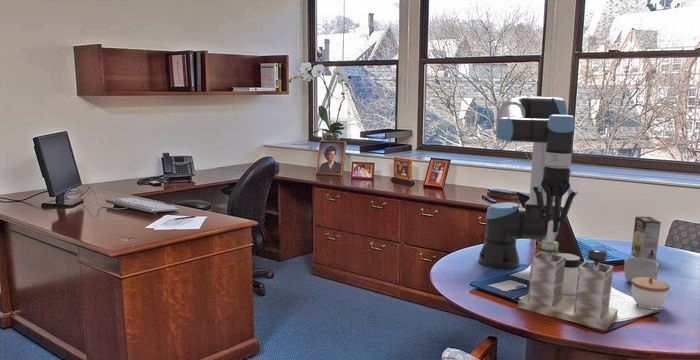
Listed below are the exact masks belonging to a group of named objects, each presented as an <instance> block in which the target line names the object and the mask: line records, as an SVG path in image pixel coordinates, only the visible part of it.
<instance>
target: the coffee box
mask: <svg viewBox="0 0 700 360" xmlns="http://www.w3.org/2000/svg"><path fill="white" fill-rule="evenodd" d="M634 220H635V221H634V228H633V237H632V244H631V254H632V255H633V257H635V258H646V259H650V260H653V261H657V252H658V244H659V238H660V230H661V225H662V224H661V223H662V222H661V221H659V220H657V219H655V218H653V217H652V216H635V219H634Z"/></svg>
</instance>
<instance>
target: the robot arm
mask: <svg viewBox="0 0 700 360" xmlns="http://www.w3.org/2000/svg"><path fill="white" fill-rule="evenodd" d="M575 120H576V119H575V117H574V115H569V114H568V108H567V104H566V100H565V99H563V97H556V96H555V97H554V96H526V95H524V96H516V97H512V98H511V99H508V100H506V101H505V102H503V103H502V104H501V105H500V108H499V109H498V119H497V121H496V135H495V136H496V140H498V141H503V142H522V143H523V142H524V143H525V142H528V143H532V159H531V171H530V184H529V185H530V186H529V199H528V200H527V201H526V202H525V203H524V207H520V205H519V204H518V203H517V202H510V201H509V202H504V201H503V202H497V203H493V204H490V205H489V206H488V207H487V210H486V211H487V212H486V215H485V219H486V224H485V235H484V243H483V245H482V248H481V250H480V252H479V255H478V262H479V263H480V264H482V265H484V266H486V267H489V268H495V269H502V270H503V269H505V270H507V269H514V268H515V269H516V268H517V267H519V265H520V256H519V253H518V249H517V239H523V240H524V239H525V240H535V241H541V242H542V241H543V240H547V241H546V242H548V243H552V242H554V241H555V240H556V238H557V236H558V233H559V229H560V225H561V222H564V221H565V220H567V217H568V214H569V211H570V208H571V206H572V203H573V201H574V198H575V197H576V196H577V194H578V191H577V190H574V189H572V188H571V184H570V175H571V168H570V167H571V166H572V155H573V152H572V151H573V143H574V135H575V134H574V133H575V128H576V125H575V122H576V121H575ZM566 193H567V198H566V200H565V203H564V205H563V209H562V201H563V196H565V194H566ZM561 210H562V211H561Z"/></svg>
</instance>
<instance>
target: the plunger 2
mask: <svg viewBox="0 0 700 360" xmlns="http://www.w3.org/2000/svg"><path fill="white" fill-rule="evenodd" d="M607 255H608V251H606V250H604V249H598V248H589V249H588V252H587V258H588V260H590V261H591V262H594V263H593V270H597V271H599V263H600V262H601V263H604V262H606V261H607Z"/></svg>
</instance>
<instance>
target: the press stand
mask: <svg viewBox="0 0 700 360" xmlns="http://www.w3.org/2000/svg"><path fill="white" fill-rule="evenodd" d="M565 258H566V257H565V256H560V255H556V254H554V253H552V257H551V261H549V260H546V251H544V252H543V251H539V252H538V253H536V254H534V255H533V256H531V260H530V261H531V262H530V270H529V282H528V283H529V284H528V293H527V294H526V295H525V296H523V297H522V298H521V299H519V300H518V301H517V308H518V309H522V310H526V311H529V312H533V313H536V314H540V315H545V316H549V317H552V318H557V319H560V320H564V321H567V322H568V321H569V322H572V323H575V324H579V325H582V326H583V325H584V326H587V327H590V328H595V329H598V330H603V331H608V329H609V327H610V326H611V325H612V323H613V322H614V320H615V319H616V317H617V316H618V311H619V309H618V308H616V307H615V308H614V307H610V301H611V300H610V299H611V293H612V283H613V274H614V265H609V264H604V263H600V262H599V271H597V270H593V263H594V261H591V260H590V261H589V260H585V261H583V263H580V266H579V267H578V276H577V286H576V294H575V295H574V296H575V297H574V298H573V297H568V296H564V295H563V294H562V289H563V279H564V269H565ZM612 321H613V322H612Z"/></svg>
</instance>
